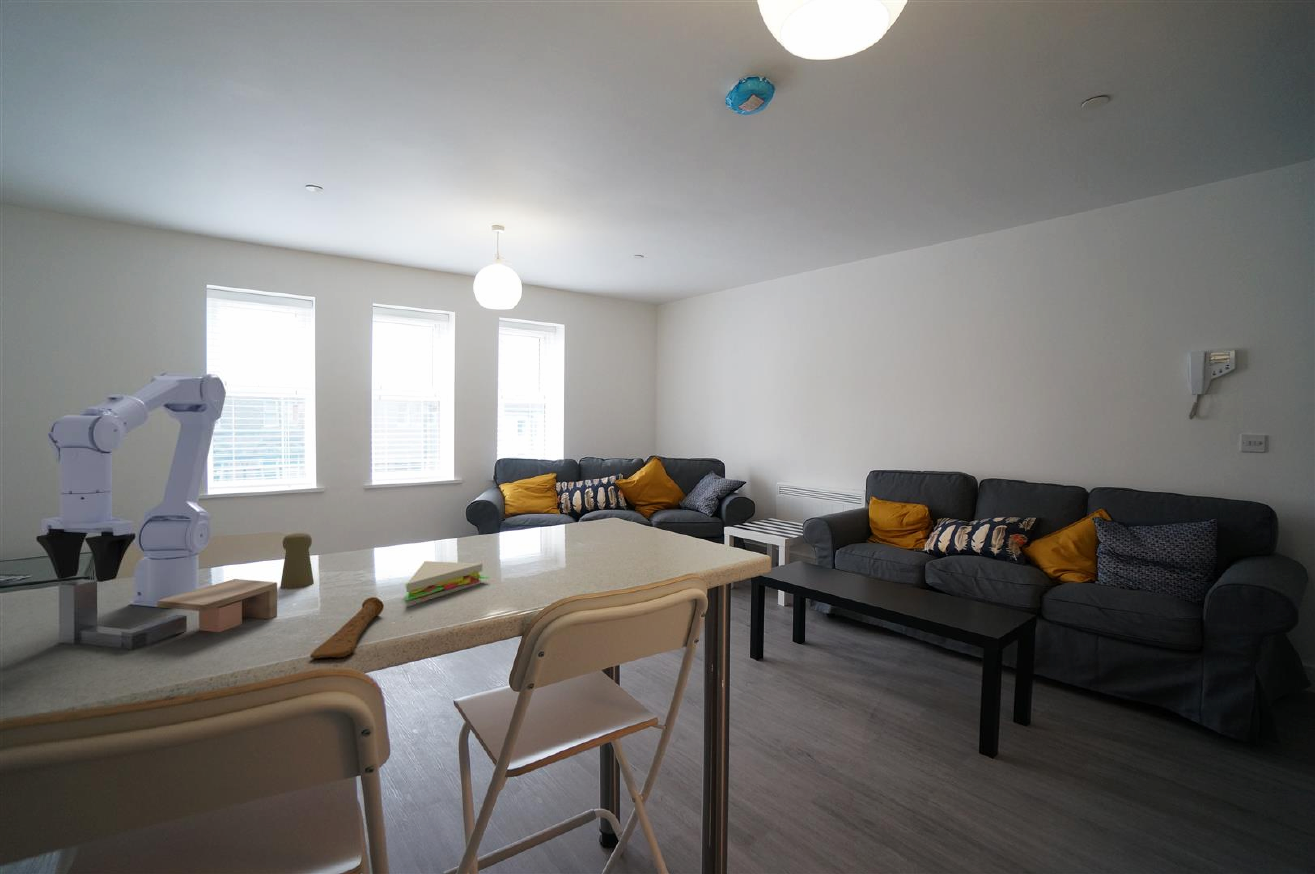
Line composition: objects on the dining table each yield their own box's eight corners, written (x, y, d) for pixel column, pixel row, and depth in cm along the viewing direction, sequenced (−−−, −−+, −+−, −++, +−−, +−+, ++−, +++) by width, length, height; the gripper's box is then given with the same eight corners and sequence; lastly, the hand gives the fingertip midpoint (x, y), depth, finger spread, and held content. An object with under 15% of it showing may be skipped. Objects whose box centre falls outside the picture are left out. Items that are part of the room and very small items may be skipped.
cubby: (157, 638, 88) (157, 600, 88) (235, 612, 101) (235, 578, 101) (203, 643, 87) (203, 605, 86) (277, 616, 99) (277, 582, 99)
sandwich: (362, 603, 108) (362, 578, 108) (435, 578, 126) (435, 556, 126) (424, 614, 103) (424, 587, 103) (492, 586, 121) (492, 563, 121)
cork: (290, 582, 121) (290, 531, 120) (319, 581, 121) (319, 531, 121) (273, 590, 115) (273, 536, 114) (304, 589, 115) (304, 536, 115)
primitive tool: (308, 655, 81) (311, 677, 82) (348, 652, 82) (350, 674, 82) (362, 596, 100) (364, 614, 100) (394, 594, 100) (396, 612, 101)
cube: (199, 630, 92) (199, 606, 92) (222, 622, 96) (222, 599, 96) (218, 632, 91) (218, 608, 91) (241, 624, 95) (241, 601, 95)
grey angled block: (59, 642, 86) (58, 584, 86) (122, 623, 95) (122, 570, 94) (128, 650, 84) (127, 590, 83) (186, 630, 92) (186, 576, 92)
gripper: (16, 493, 85) (17, 582, 85) (95, 496, 82) (95, 588, 83) (72, 488, 92) (72, 571, 92) (146, 491, 89) (146, 576, 89)
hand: (86, 578), depth 88 cm, fingers open, 7 cm apart
